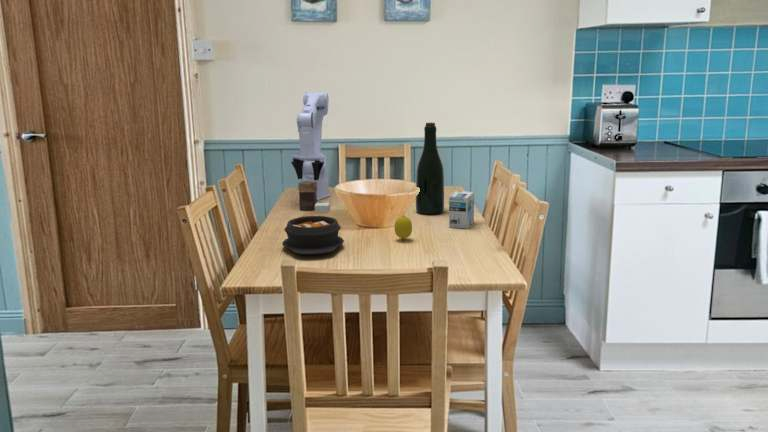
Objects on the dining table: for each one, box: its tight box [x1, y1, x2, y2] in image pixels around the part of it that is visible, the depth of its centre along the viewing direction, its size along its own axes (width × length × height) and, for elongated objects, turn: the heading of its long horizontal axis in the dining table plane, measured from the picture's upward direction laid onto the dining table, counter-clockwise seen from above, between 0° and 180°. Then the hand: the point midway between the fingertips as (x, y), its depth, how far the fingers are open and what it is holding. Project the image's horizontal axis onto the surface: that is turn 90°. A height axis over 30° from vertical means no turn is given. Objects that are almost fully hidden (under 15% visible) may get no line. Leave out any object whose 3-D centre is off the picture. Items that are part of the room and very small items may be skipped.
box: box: [298, 190, 318, 212], centre depth 249 cm, size 6×6×7 cm
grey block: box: [314, 202, 331, 214], centre depth 245 cm, size 5×5×3 cm
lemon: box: [394, 214, 413, 241], centre depth 205 cm, size 6×6×8 cm
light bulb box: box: [448, 190, 475, 230], centre depth 222 cm, size 11×7×11 cm, turn 161°
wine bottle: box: [415, 122, 445, 216], centre depth 238 cm, size 10×10×33 cm
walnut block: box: [298, 180, 317, 192], centre depth 248 cm, size 5×5×3 cm
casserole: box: [281, 215, 345, 256], centre depth 198 cm, size 25×19×8 cm
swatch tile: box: [317, 201, 333, 206], centre depth 257 cm, size 6×6×1 cm
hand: (308, 179), depth 252 cm, fingers open, 7 cm apart
